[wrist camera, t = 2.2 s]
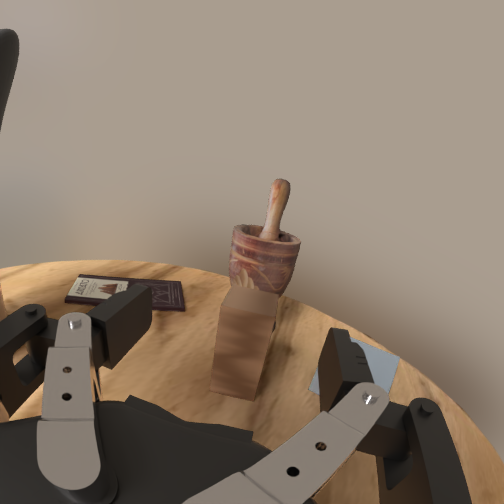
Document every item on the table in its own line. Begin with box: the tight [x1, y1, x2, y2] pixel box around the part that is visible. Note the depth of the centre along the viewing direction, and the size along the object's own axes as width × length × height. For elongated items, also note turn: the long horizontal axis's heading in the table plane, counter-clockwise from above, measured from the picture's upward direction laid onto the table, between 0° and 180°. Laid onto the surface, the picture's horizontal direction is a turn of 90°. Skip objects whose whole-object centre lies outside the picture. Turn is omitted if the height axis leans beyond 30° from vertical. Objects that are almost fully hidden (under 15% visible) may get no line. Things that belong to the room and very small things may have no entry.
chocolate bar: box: [65, 274, 185, 311], centre depth 39 cm, size 9×1×18 cm
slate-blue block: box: [308, 337, 400, 395], centre depth 28 cm, size 8×8×4 cm
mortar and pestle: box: [229, 179, 301, 331], centre depth 38 cm, size 12×9×20 cm
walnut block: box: [210, 285, 279, 401], centre depth 25 cm, size 4×4×10 cm
